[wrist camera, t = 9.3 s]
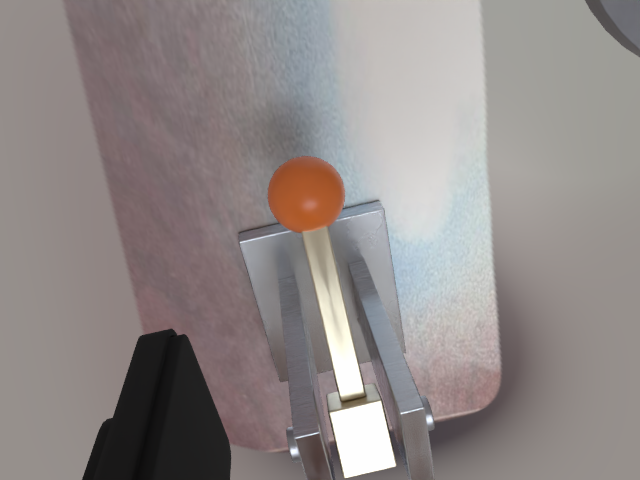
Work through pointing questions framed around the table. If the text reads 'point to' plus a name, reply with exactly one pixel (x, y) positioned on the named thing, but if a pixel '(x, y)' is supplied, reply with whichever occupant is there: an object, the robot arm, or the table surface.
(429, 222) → the table surface
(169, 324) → the table surface
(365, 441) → the lever
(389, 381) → the bracket
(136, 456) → the robot arm
